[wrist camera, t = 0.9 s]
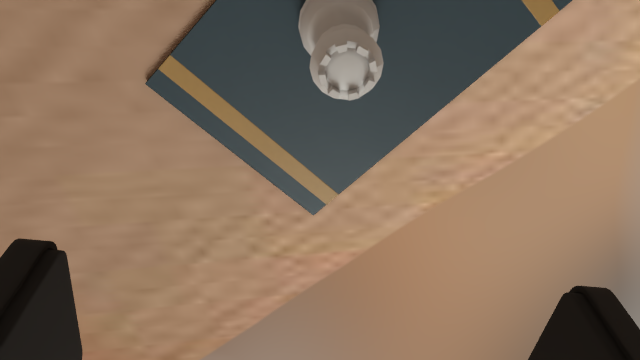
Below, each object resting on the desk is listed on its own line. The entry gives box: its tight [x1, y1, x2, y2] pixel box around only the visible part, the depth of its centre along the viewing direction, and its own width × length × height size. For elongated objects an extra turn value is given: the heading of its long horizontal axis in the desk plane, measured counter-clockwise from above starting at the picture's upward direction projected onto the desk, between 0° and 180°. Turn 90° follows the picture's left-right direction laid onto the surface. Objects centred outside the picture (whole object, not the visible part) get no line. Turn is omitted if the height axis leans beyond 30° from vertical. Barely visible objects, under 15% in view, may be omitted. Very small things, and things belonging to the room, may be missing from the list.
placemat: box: [145, 0, 572, 215], centre depth 29 cm, size 21×14×1 cm, turn 135°
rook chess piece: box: [298, 0, 384, 101], centre depth 25 cm, size 4×4×8 cm
